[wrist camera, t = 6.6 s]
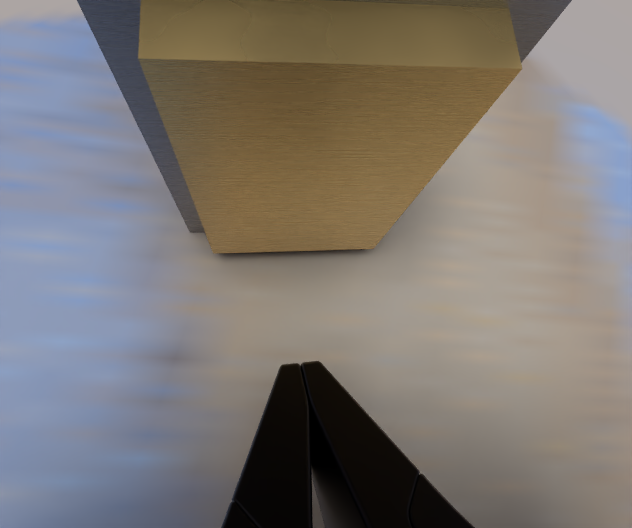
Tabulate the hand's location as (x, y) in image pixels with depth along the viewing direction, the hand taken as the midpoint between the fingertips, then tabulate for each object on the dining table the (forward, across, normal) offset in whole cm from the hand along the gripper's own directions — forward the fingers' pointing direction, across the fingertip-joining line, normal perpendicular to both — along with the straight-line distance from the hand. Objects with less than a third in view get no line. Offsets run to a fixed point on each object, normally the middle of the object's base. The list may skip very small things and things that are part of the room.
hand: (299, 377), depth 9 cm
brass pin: (+11, -1, -3) cm, 11 cm away
